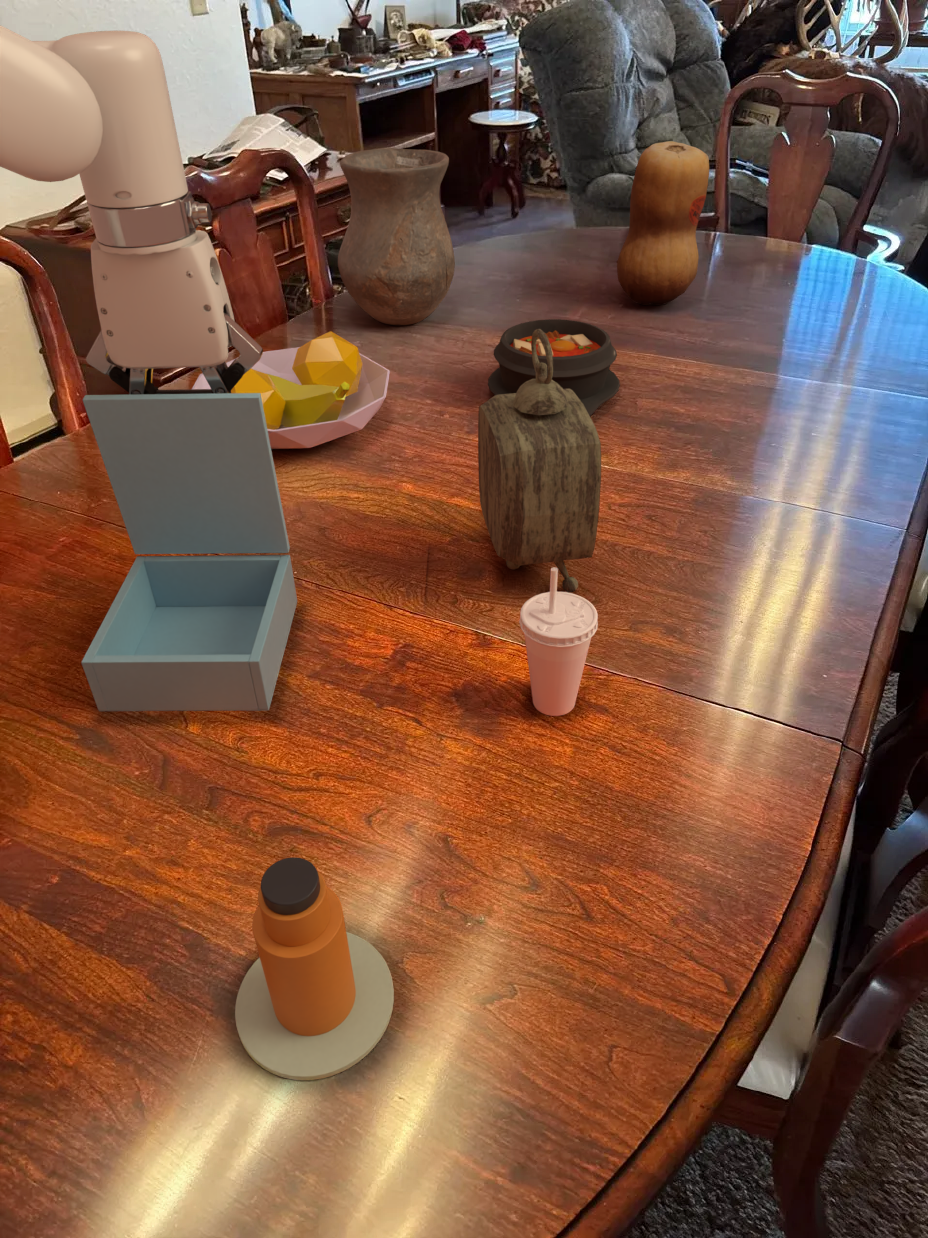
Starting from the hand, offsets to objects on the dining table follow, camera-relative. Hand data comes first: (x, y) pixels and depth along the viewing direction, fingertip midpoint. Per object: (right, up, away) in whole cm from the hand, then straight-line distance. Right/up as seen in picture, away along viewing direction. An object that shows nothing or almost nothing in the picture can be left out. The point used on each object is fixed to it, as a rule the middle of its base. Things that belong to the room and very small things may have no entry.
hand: (192, 433), depth 82 cm
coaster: (+15, -41, -23) cm, 50 cm away
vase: (+13, +34, +75) cm, 83 cm away
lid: (0, -4, 0) cm, 4 cm away
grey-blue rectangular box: (0, -20, +4) cm, 21 cm away
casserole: (+37, +15, +49) cm, 63 cm away
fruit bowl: (+2, +9, +42) cm, 43 cm away
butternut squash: (+57, +39, +79) cm, 105 cm away
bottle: (+15, -41, -24) cm, 49 cm away
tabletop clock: (+31, -11, +15) cm, 37 cm away
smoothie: (+32, -24, -2) cm, 40 cm away
